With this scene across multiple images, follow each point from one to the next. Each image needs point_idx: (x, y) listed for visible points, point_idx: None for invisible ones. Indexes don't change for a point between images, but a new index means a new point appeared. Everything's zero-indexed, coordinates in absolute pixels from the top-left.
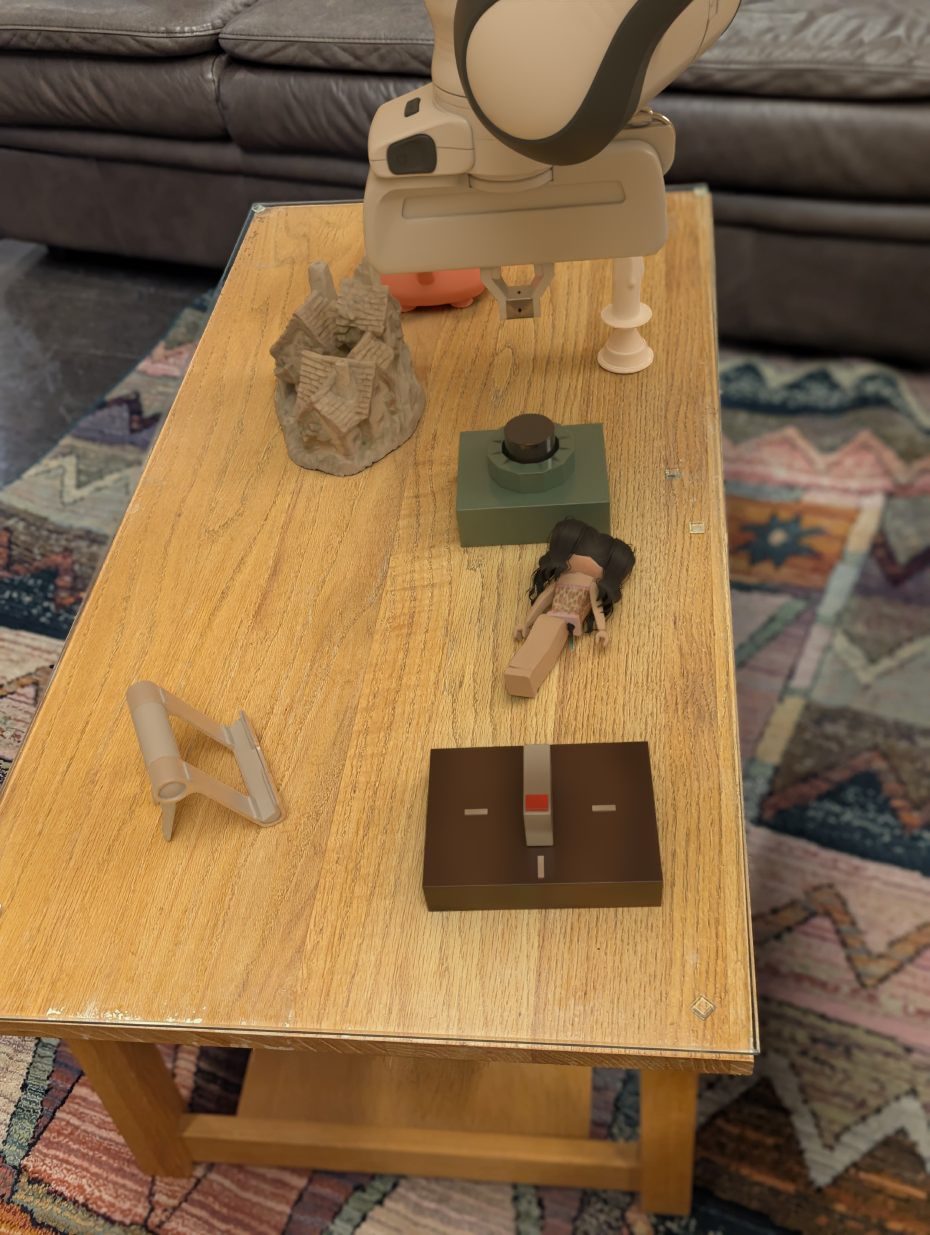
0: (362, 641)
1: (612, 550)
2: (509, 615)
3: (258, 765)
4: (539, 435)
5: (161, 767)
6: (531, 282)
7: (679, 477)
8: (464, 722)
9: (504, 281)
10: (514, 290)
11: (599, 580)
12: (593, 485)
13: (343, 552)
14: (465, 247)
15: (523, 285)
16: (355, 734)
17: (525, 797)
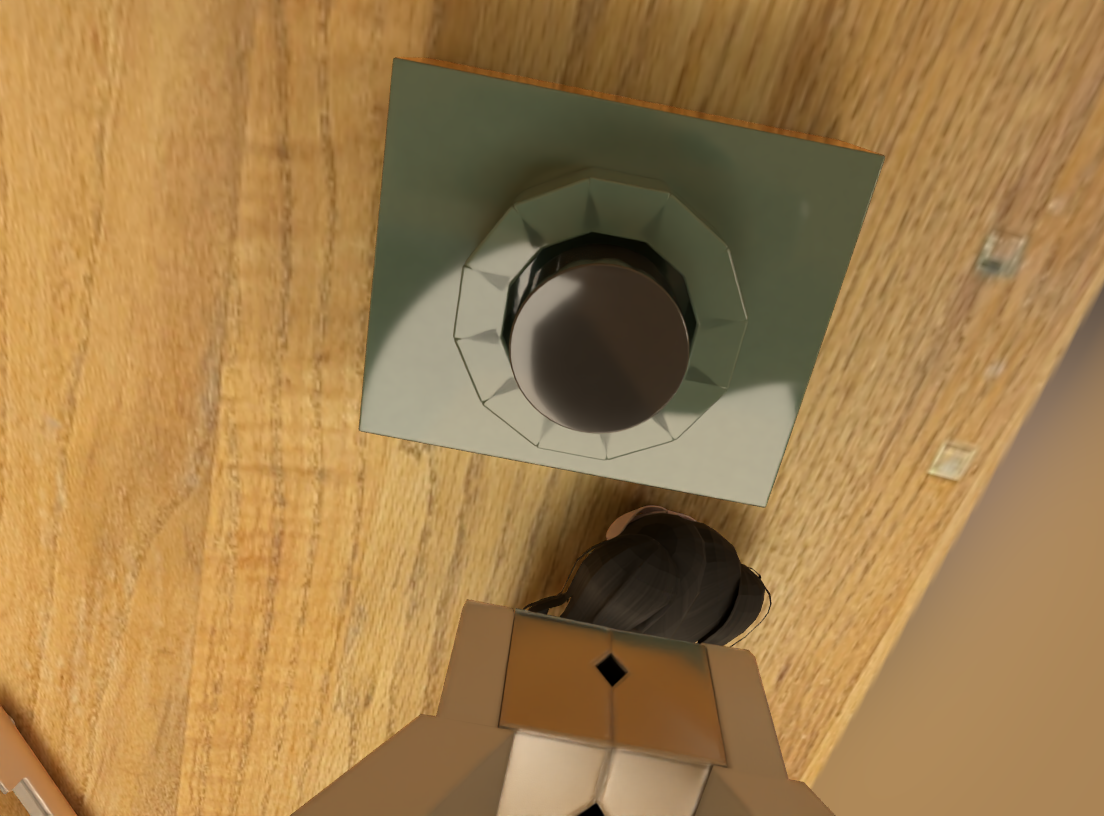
0: (180, 576)
1: (713, 637)
2: (475, 587)
3: (32, 803)
4: (624, 398)
5: None
6: (724, 795)
7: (1009, 276)
8: None
9: (484, 763)
10: (560, 793)
11: None
12: (745, 439)
13: (103, 319)
14: None
15: (652, 748)
16: (190, 743)
17: None
